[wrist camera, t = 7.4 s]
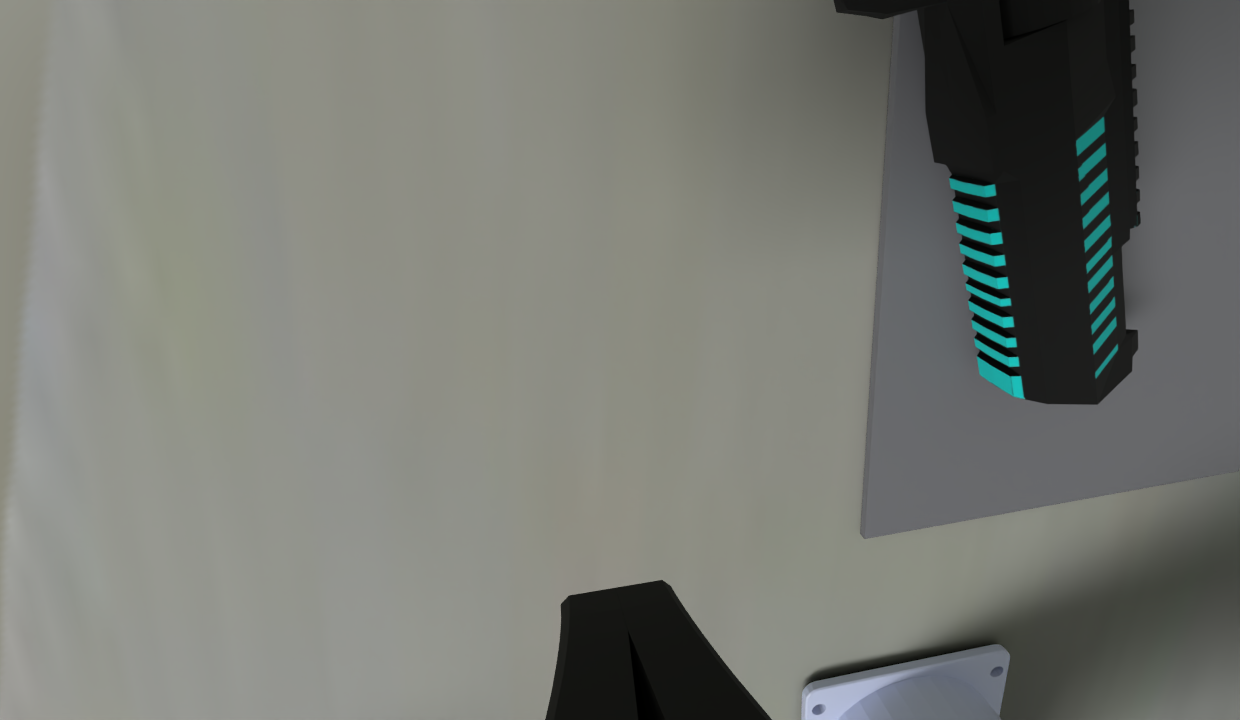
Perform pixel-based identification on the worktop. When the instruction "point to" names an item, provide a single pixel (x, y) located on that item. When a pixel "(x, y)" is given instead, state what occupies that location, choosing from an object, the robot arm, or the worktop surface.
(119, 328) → the worktop surface
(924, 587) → the worktop surface
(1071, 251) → the toy gun
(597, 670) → the robot arm
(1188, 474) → the mat
